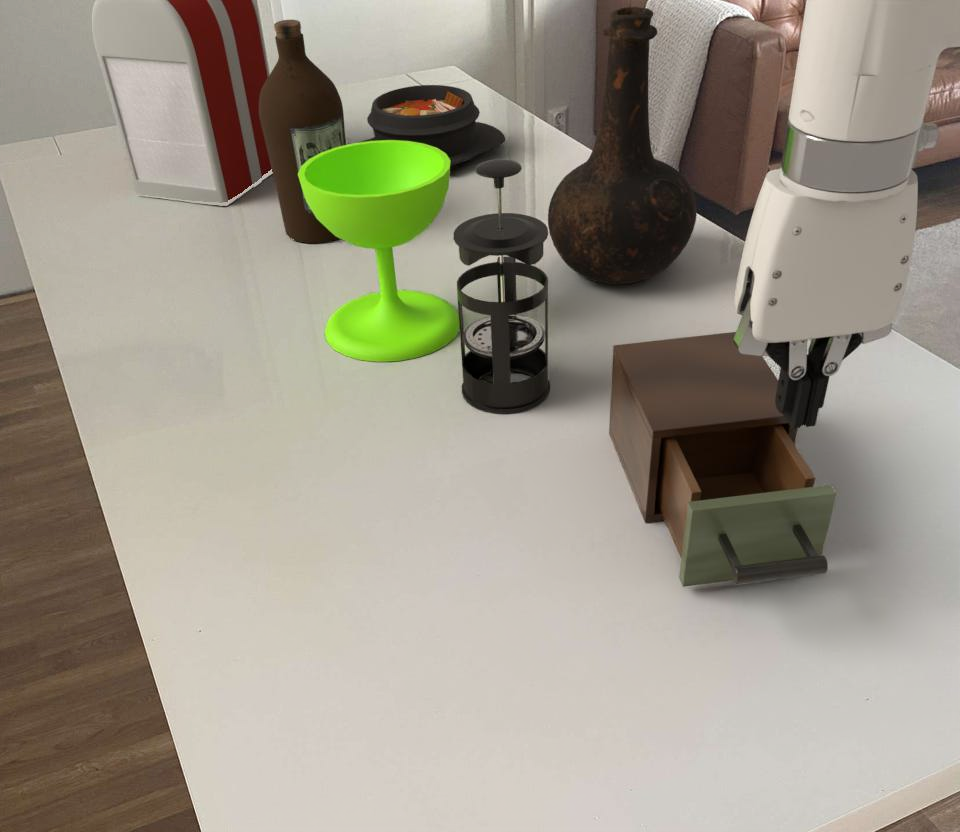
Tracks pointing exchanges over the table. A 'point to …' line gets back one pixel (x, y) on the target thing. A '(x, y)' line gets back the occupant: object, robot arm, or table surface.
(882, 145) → the robot arm
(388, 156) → the wineglass
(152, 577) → the table surface
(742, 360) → the cabinet
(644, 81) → the glass bottle
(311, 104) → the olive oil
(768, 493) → the drawer
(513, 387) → the french press
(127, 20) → the tissue box
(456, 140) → the casserole
